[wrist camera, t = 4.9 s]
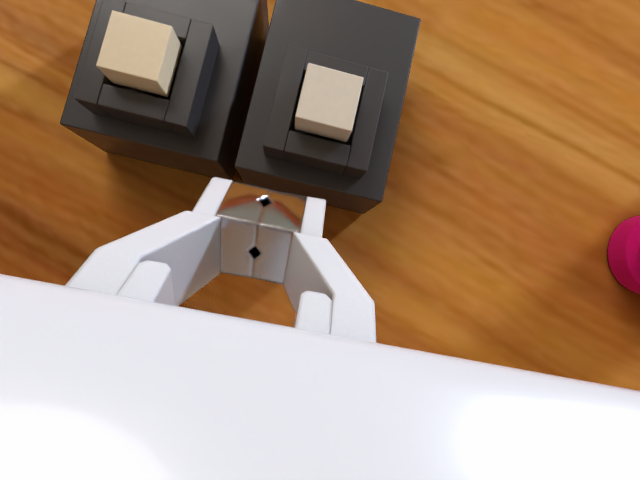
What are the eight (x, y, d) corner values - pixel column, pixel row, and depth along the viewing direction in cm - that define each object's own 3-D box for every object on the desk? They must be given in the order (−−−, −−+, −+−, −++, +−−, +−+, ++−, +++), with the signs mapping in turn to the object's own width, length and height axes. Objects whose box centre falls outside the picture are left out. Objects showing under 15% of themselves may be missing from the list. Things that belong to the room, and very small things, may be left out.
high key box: (231, 182, 26) (210, 152, 19) (105, 152, 25) (36, 110, 18) (269, 29, 27) (263, -52, 20) (149, -4, 26) (99, -99, 19)
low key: (346, 142, 20) (351, 131, 18) (294, 129, 20) (295, 116, 18) (357, 92, 20) (364, 76, 19) (306, 79, 20) (308, 61, 19)
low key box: (364, 214, 27) (390, 196, 20) (244, 185, 26) (229, 157, 19) (396, 63, 28) (432, -3, 21) (282, 32, 27) (280, -47, 20)
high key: (168, 97, 20) (156, 81, 18) (112, 83, 19) (95, 65, 18) (182, 46, 20) (172, 25, 18) (127, 31, 20) (111, 9, 18)
